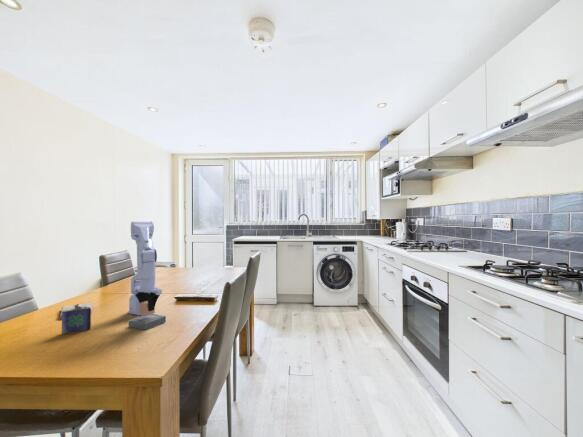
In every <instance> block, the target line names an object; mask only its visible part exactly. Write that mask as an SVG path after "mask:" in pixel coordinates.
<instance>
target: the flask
mask: <svg viewBox="0 0 583 437" xmlns="http://www.w3.org/2000/svg"><path fill="white" fill-rule="evenodd" d="M79 304H80V303H77V304H74V305H75V306H74V308H75V309H70V310H64V311H62V320H61V335H67V334H75V333H81V332H86V331H90V330H91V328H92V327H91V326H92V319H91V318H92V313H91V311H92V310H91V308H90V307H84V308H82V307H80V306H78V305H79Z"/></svg>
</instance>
